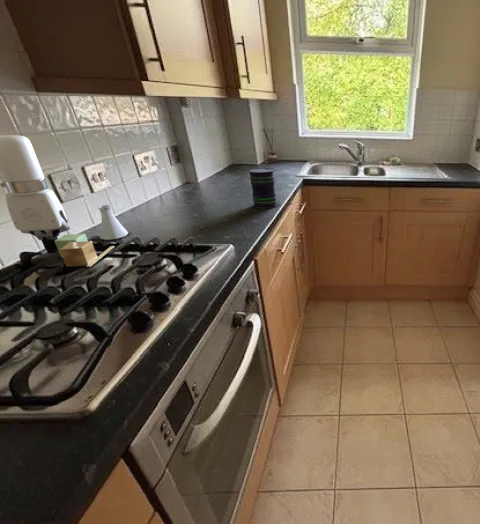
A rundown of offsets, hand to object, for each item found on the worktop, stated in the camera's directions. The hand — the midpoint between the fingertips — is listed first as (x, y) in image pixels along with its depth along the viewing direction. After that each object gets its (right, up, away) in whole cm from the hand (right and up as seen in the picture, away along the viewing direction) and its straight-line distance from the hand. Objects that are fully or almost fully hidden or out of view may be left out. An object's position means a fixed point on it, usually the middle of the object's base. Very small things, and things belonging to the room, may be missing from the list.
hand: (54, 251), depth 93 cm
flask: (+6, +5, +14) cm, 16 cm away
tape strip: (+13, -1, 0) cm, 13 cm away
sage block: (+5, -1, +1) cm, 5 cm away
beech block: (+11, -3, -4) cm, 12 cm away
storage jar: (+44, +21, +50) cm, 70 cm away
